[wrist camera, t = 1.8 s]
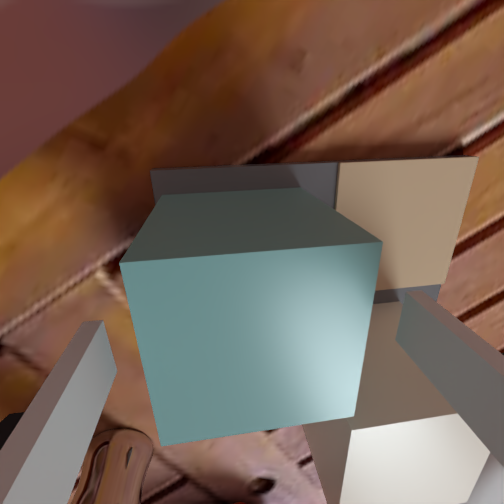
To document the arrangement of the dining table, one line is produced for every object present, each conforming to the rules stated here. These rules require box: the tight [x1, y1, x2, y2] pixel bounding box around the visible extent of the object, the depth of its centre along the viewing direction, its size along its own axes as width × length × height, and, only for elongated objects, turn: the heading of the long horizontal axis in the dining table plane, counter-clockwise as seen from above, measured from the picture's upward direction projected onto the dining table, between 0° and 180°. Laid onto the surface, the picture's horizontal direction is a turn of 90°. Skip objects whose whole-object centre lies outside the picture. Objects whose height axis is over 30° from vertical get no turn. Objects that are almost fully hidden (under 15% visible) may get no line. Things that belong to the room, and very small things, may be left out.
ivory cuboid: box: [302, 301, 490, 504], centre depth 21 cm, size 9×9×10 cm
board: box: [150, 155, 479, 304], centre depth 24 cm, size 22×21×1 cm
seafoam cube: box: [119, 187, 383, 446], centre depth 16 cm, size 9×9×10 cm
